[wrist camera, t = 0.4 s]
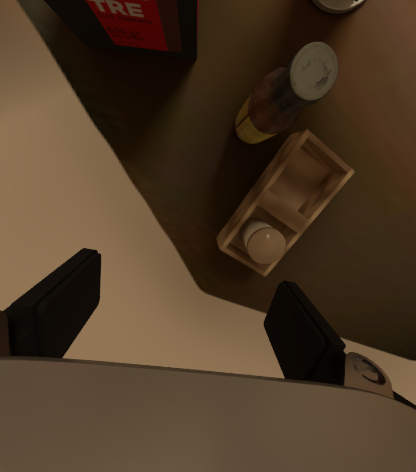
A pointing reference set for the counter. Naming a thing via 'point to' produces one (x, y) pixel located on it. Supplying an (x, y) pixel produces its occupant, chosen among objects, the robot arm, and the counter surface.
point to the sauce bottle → (287, 93)
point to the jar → (262, 241)
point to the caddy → (287, 195)
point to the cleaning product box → (134, 24)
